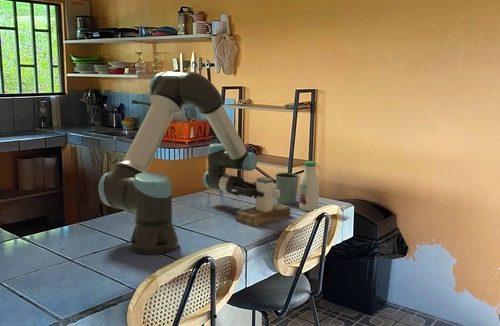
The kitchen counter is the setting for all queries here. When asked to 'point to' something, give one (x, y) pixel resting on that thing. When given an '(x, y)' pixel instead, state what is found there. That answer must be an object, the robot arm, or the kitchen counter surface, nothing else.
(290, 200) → the green cup
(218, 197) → the kitchen counter surface
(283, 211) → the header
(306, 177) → the milk bottle
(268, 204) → the plug
